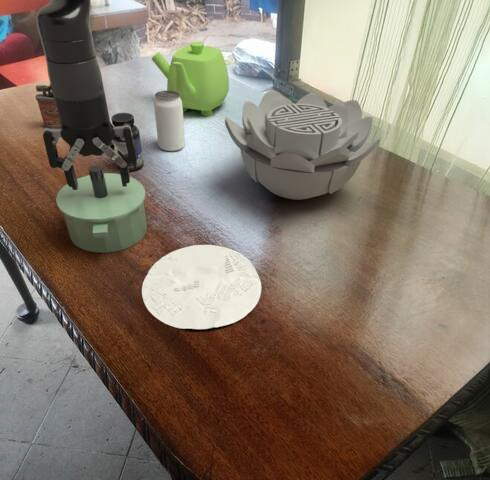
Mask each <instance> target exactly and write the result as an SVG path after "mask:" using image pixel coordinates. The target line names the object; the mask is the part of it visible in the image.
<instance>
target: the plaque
mask: <svg viewBox="0 0 490 480" xmlns="http://www.w3.org/2000/svg"><path fill="white" fill-rule="evenodd" d="M261 294H262V281H261V278H260V276H259V274H258V271H257V270H256V268H255V265H254V264H253V263H252V261H250V259H248V258H247V257H246V256H245V255H244V254H242V253H240V252H238V251H236V250H234V249H232V248H228V247H224V246H221V245H214V244H196V245H195V244H194V245H190V246H185V247H182V248H178V249H175V250H173V251H172V252H171V251H170V252H169V253H167V254H165V255H164V256H162V257H161V258H159V260H157V261H156V262H155V263H154V264H153V265H152V266H151V267H150V269H149V270H148V272H147V275H145V277H144V280H143V282H142V285H141V297H142V300H143V303H144V306H145V307H146V309H147V311H148V312H149V313H150V314H151V315H152V316H153V317H154V318H156V319H157V320H159V322H162V323H163V324H165V325H168V326H171V327H173V328H177V329H182V330H185V329H186V330H187V329H189V330H190V329H192V330H208V329H213V328H219V327H224V326H228V325H231V324H235V323H236V322H238V321H240V320H242V319H244V318H245V317H247V315H248V314H250V313H251V312H252V311H253V310H254V308H256V306H257V305H258V303H259V301H260V298H261Z"/></svg>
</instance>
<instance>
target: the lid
mask: <svg viewBox="0 0 490 480" xmlns="http://www.w3.org/2000/svg"><path fill="white" fill-rule="evenodd" d="M88 174H89V175H85V176H81V177H79V178H77V182H78V189H77V190H73V189H72V187H69V186H68V184H65V185H63V187H61V188H60V189H59V191H58V192H57V194H56V197H55V203H56V207H57V208H58V210H59V211H60V212H61V214H62V213H64V214H65V215H67V216H69V217H71V218H74V219H77V220H82V221H107V220H112V219H116V218H120V217H123V216H125V215H128V214H130V213H131V212H133V211H135V210H136V209H137V208H139V207H140V206H141V204H142V203H143V201H144V202H145V199H146V189H145V187H144V185H143V184H142V183H141V182H140V181H139V180H137V179H136V178H134V177H132V176H130V182H129V183H127V187H123V186H122V181H121V175H120V173H113V172H112V173H111V172H107V173H106V172H104V167H103V166H101V165H97V164H96V165H91V166H90V167H88Z"/></svg>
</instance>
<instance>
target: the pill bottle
mask: <svg viewBox="0 0 490 480" xmlns="http://www.w3.org/2000/svg"><path fill="white" fill-rule="evenodd" d="M134 117H135V116H134V114H132V113H129V112H119V113H118V112H117V113H114V114H113V115H112V116H111V124H112V125H113V127H117V126H123V125H124V123H129V124H130V125H131V130H132V134H133V139H134V144H135V148H136V153H137V162H136V163H135V164H133V163H131V164H129V165H128V169H129V172H133V171H138V170H140V169H142V167H144V164H145V162H144V155H143V148H142V142H141V135H140V130H139V128H138V127H137V125H135V118H134ZM112 141H113V142H114V143H115V144H116V145H117V147H118V149H119V150H120V151H121V152H122V153H123V154H124V155H125V154H128V151H127V147H126V143H125V141H122V140H121V139H120V137H119V136H118V135H115V136H114V138H113V140H112ZM116 166H117V168H118V169H119V165H118V164H117V163H116Z"/></svg>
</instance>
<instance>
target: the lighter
mask: <svg viewBox="0 0 490 480" xmlns="http://www.w3.org/2000/svg"><path fill="white" fill-rule="evenodd" d="M35 91H36V92H37V93H38V94H35V96H34V97H35V101H37V102H36V103H37V105H38V108H39V109H38V110H39V112H40V116H41V119H42V125H43V128H44V129H45V127H46V126H49V127H51V128H52V129H61V128H62V125H61V121H60V118H59V114H58V110H57V106H56V103H55V99H54V95H53V92H52V90H51V87H50V84H49V85H46V84H36V85H35ZM41 92H42V93H41Z"/></svg>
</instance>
